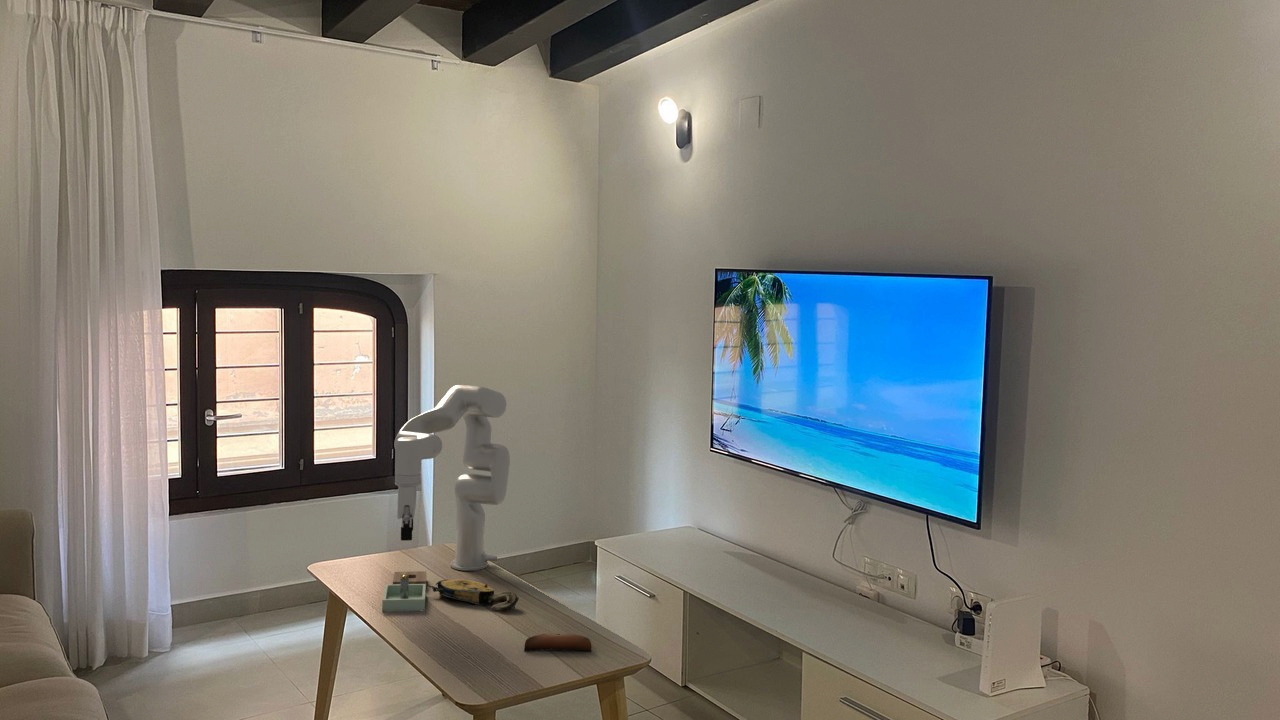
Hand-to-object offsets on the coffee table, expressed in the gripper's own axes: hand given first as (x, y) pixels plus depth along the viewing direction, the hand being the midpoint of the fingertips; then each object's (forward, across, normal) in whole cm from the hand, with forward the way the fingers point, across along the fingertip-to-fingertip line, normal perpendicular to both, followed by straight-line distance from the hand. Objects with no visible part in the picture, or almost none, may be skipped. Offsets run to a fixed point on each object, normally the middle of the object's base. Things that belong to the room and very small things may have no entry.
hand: (407, 535), depth 283 cm
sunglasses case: (+21, +38, +41) cm, 60 cm away
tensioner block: (+21, -15, +1) cm, 26 cm away
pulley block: (+21, 0, +21) cm, 30 cm away
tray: (+21, +1, 0) cm, 21 cm away
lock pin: (+20, +1, 0) cm, 20 cm away
